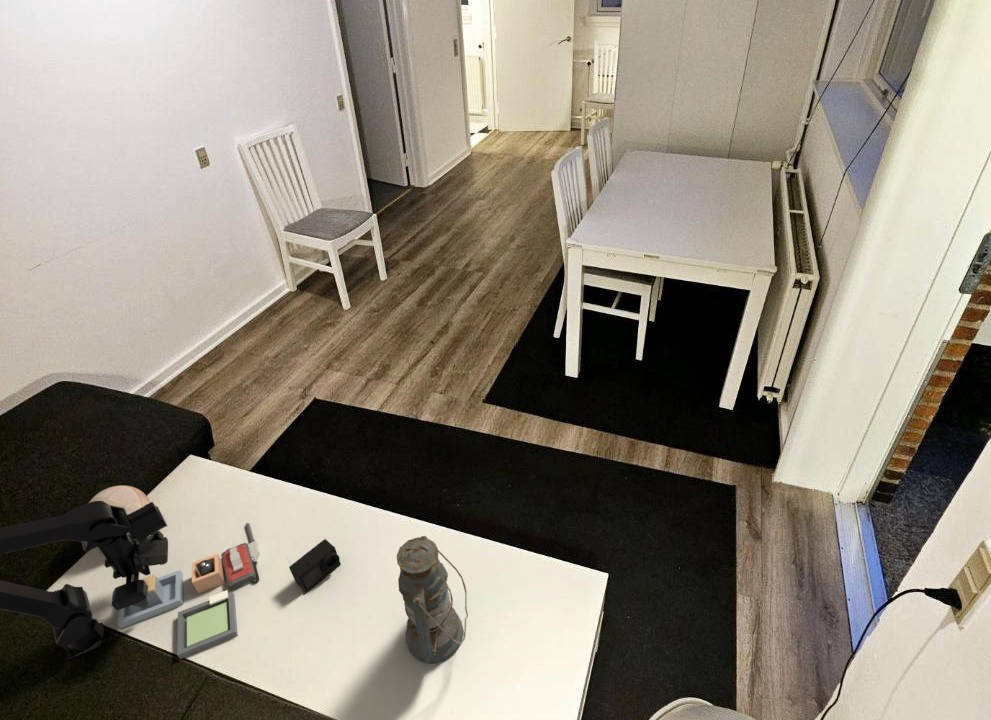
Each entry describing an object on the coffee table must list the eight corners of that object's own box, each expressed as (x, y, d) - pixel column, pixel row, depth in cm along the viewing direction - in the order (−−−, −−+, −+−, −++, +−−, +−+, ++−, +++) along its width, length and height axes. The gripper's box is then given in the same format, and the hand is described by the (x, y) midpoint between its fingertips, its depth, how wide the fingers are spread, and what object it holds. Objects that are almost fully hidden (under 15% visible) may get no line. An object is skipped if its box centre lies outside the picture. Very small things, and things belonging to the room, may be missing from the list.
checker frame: (181, 660, 124) (176, 654, 122) (181, 615, 132) (177, 609, 131) (238, 636, 127) (234, 630, 126) (235, 594, 136) (231, 588, 135)
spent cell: (205, 585, 138) (196, 570, 135) (205, 576, 140) (196, 561, 137) (217, 580, 139) (209, 566, 136) (217, 571, 141) (208, 557, 138)
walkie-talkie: (269, 580, 139) (252, 525, 154) (263, 569, 137) (247, 514, 151) (232, 598, 136) (218, 539, 150) (225, 587, 133) (213, 529, 148)
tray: (123, 629, 130) (118, 623, 129) (126, 597, 137) (121, 591, 136) (183, 606, 134) (179, 600, 133) (183, 575, 141) (180, 569, 140)
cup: (199, 594, 137) (191, 582, 134) (198, 575, 141) (191, 563, 138) (225, 584, 139) (218, 572, 136) (224, 565, 143) (217, 553, 140)
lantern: (410, 595, 133) (390, 511, 116) (471, 592, 133) (459, 508, 116) (401, 681, 118) (375, 599, 100) (469, 678, 117) (455, 595, 100)
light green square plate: (188, 648, 125) (186, 646, 125) (188, 619, 131) (186, 617, 130) (229, 631, 128) (228, 629, 127) (227, 603, 134) (226, 601, 133)
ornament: (96, 529, 155) (69, 492, 146) (155, 502, 162) (132, 465, 153) (103, 566, 145) (74, 529, 136) (165, 536, 152) (142, 498, 143)
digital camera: (308, 597, 135) (301, 579, 131) (295, 584, 138) (288, 566, 134) (344, 567, 141) (338, 549, 137) (331, 555, 144) (325, 538, 140)
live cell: (142, 611, 133) (131, 596, 129) (144, 596, 137) (132, 580, 133) (163, 604, 135) (152, 588, 131) (164, 588, 138) (153, 573, 134)
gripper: (156, 567, 120) (183, 608, 129) (159, 505, 134) (184, 546, 143) (97, 589, 116) (129, 629, 125) (106, 523, 130) (135, 564, 139)
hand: (147, 589), depth 133 cm, fingers open, 9 cm apart
